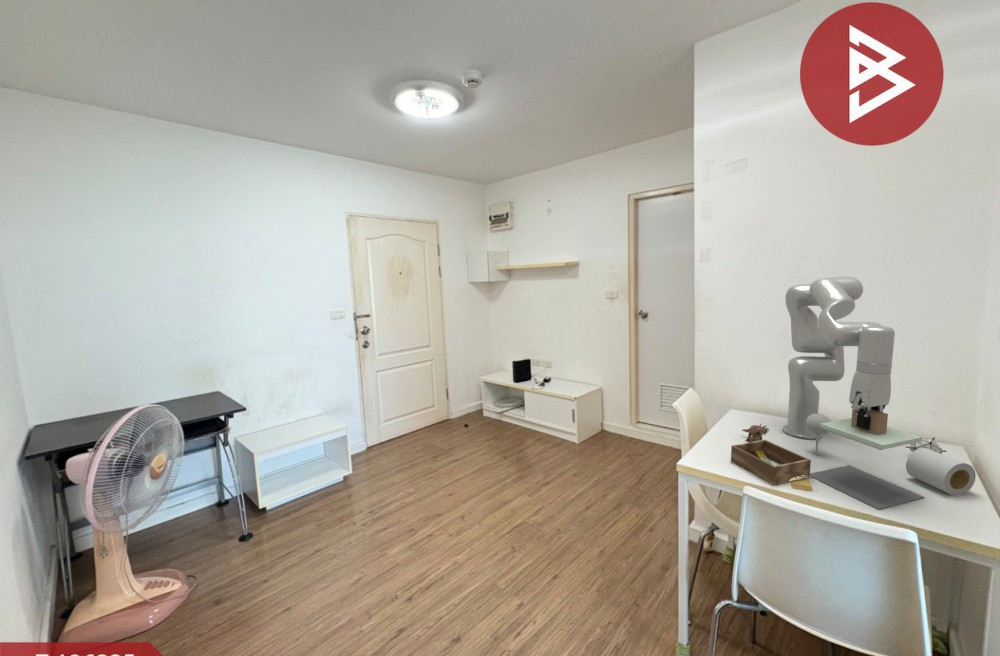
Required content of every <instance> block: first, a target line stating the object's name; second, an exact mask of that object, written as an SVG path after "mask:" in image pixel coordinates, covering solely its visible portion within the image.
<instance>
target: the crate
mask: <svg viewBox="0 0 1000 656" xmlns="http://www.w3.org/2000/svg"><path fill="white" fill-rule="evenodd" d="M730 448H731V449H730V450H731V451H730V452H731V453H730V462H731V463H732V464H734V465H736V466H738V467H739V468H740V469H741V468H742V469H744V470H745V471H747V472H749V473H751V474H752V475H754V476H755V477H758V478H760V479H761V480H763V481H765V482H766V483H769V484H771V485H772V486H777V485H783V484H787V483H790V482H789V480H790V479H791V478H793V477H796V476H801V475H805V476H807V477H808V478H811V477H810V473H811V468H812V467H811V466H812V465H811V463H812V459H809V458H808V457H805V456H803V455H801V454H799V453H796V452H794V451H792V450H789V449H788V448H785V447H782V446H780V445H778V444H775V443H773V442H772V441H769V440H767V439H762V440H760V441H756V440H754V441H752V442H745V443H744V442H743V443H739V444H732V445H731V447H730ZM755 451H760V452H764V454H765V455H766V456H767V458H768V459H769V461H773V462H774V463H777V465H773V464H772V465H771V464H769V463H767V462H765V461H763V460H761V459H759V458H757V457H755ZM808 478H807V479H808Z"/></svg>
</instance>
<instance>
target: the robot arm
mask: <svg viewBox="0 0 1000 656" xmlns="http://www.w3.org/2000/svg"><path fill="white" fill-rule="evenodd" d="M863 292H864V286H863V284H862V282H861V281H860V280H859V279H858V278H856V277H852V276H835V277H822V278H818V279H816V280H814V281H812V282H811V283H803V284H796V285H793V286H790V287H789V288H788V289H787V291H786V293H785V306H786V309H787V311H788V314H789V317H790V333H791V336H790V337H791V346H792V349H793V350H794V351H795V352H797V353H803V354H824V356H810V355H809V356H806V355H805V356H803V355H802V356H796V357H793V358H791V359H790V360H789V361H788V364H787V369H788V375H789V393H788V394H789V395H788V410H787V411H788V413H787V424H785V425H784V426H782V431H783V433H785V434H787V435H789V436H791V437H795V438H798V439H804V440H816V435H817V433H814V432H812V431H811V430H809V429H808V427H807V425H806V420H807V418H808V416H810V415H812V414H819V407H820V391H819V389H818V387H817V386H816V384H814V382H838V381H841V380H842V379H843V377H844V375H845V351H844V350H845V347H857V353H856V355H857V357H856V366H855V367H856V369H855V372H854V374H853V376H852V380H851V386H850V390H849V398H848V401H849V403H850V404H851V405H850V408H851V409H854V410H855V411H856V414H857V424H856V426H857V427H859V428H862V429H865V430H870V420H871V417H869V414H870V409H872V410H875V411H879V412H883V413H884V410H885V408H886V407H887V405H889V404H890V400H891V395H892V394H891V391H892V390H891V389H892V380H891V375H892V369H893V367H892V365H893V355H894V347H895V346H894V345H895V335H896V333H895V330H894V328H892V327H890V326H883V325H881V324H880V323H878V322H874V321H873V322H871V321H868V322H867V321H861V322H860V321H857V322H856V321H852V322H851V321H848V322H846V321H844V322H843V321H841V322H840V321H839V320H841V319H843V318H845V317H847V316H850V314H852V312H853V311H854V310H855V307H856V302H855V301H857V300H859V299H860V298H861V297H862V295H863ZM811 307H819V308H820V309H821V312H820V313H819V315H817V314H816V313H815V312H814V310H813V309H812V308H811ZM837 320H838V321H839V322H838V321H837ZM862 407H863V408H866V409H865V410H864V409H862ZM822 435H823V434H819V439H820V438H822V437H823V436H822Z"/></svg>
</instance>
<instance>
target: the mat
mask: <svg viewBox="0 0 1000 656" xmlns="http://www.w3.org/2000/svg"><path fill="white" fill-rule="evenodd" d="M810 478H812V479H814V480H817V481H818V482H820V483H822V484H825V485H827V486H828V487H831V488H833V489H835V490H837V491H839V492H841V493H843V494H846V495H847V496H849V497H851V498H854V499H855V500H857V501H860V502H862V503H863V504H865V505H868V506H870V507H872V508H874V509H876V510H878V511H880V510H885V509H888V508H892V507H895V506H899V505H900V506H901V505H904V504H908V503H912V502H915V501H919V500H922V499H923V500H924V499H925V496H924V495H921V494H919V493H916V492H914V491H911V490H909V489H907V488H906V487H905V488H904V487H902V486H900V485H897V484H895V483H892V482H891V481H888V480H885V479H884V478H882V477H878V476H876V475H874V474H872V473H868V472H866V471H864V470H862V469H860V468H857V467H855V466H852V465H850V464H847V465H843V466H838V467H834V468H833V467H832V468H830V469H825V470H819V471H816V472H810Z"/></svg>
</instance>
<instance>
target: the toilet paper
mask: <svg viewBox="0 0 1000 656" xmlns="http://www.w3.org/2000/svg"><path fill="white" fill-rule="evenodd" d="M905 469H906V472H907V474H908V475H909V476H910V477H912V478H914V479H916V480H918V481H921V482H923V483H925V484H927V485H929V486H931V487H933V488H936V489H938V490H940V491H942V492H944V493H947V494H949V495H951V496H955V497H957V496H958V497H959V496H962V495H964V494H966V493H968V492H969V491H970V490H971V488H973V486H974V484H975V483H976V479H977V478H976V471H975V468H974V467H973V466H972V465H971V464H968V463H966V462H964V461H961V460H958V459H956V458H953V457H950V456H949V455H945V454H942V453H941V454H940V453H938V452H935V451H932V450H930V449H927V448H920V449H917V450H915V451H914V452H912V451H911V453H910V454H909V455H908V457H907V460H906V462H905Z"/></svg>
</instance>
